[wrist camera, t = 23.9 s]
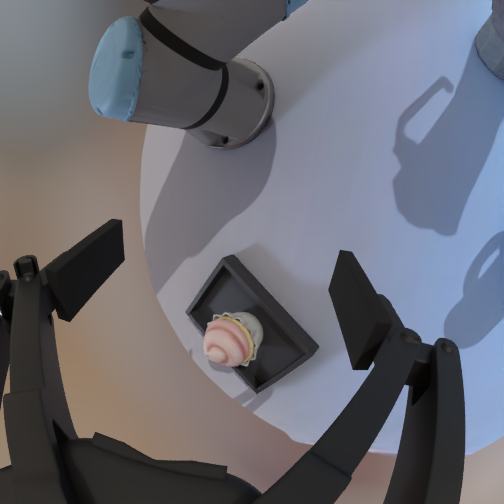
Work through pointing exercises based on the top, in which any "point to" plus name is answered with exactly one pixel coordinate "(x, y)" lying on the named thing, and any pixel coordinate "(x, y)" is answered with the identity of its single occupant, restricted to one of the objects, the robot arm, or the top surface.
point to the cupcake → (233, 338)
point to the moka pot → (493, 40)
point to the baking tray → (265, 310)
